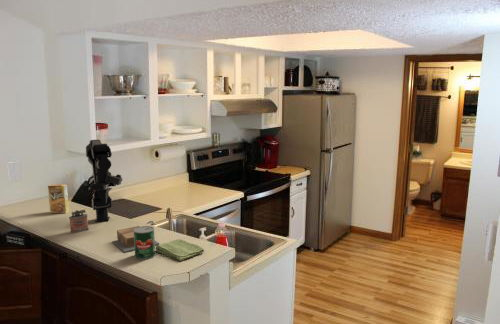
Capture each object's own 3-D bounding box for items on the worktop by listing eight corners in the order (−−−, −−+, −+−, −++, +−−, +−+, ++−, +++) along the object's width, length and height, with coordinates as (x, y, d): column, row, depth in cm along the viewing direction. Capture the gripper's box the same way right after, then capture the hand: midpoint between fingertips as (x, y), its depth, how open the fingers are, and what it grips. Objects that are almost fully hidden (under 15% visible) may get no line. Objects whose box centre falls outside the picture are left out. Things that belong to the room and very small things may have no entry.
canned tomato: (139, 261, 165) (137, 233, 164) (132, 255, 172) (130, 228, 170) (158, 256, 170) (157, 229, 168) (150, 250, 176) (149, 224, 175)
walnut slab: (116, 230, 188) (126, 238, 178) (138, 225, 194) (150, 233, 183) (117, 239, 189) (127, 247, 178) (139, 234, 194) (150, 242, 184)
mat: (112, 242, 186) (112, 241, 186) (145, 235, 195) (145, 234, 195) (124, 252, 174) (124, 251, 174) (159, 244, 183) (159, 243, 183)
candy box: (50, 213, 232) (47, 185, 230) (54, 211, 236) (51, 183, 234) (65, 213, 232) (63, 185, 229) (69, 211, 236) (67, 183, 233)
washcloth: (180, 263, 164) (180, 255, 163) (153, 252, 176) (153, 244, 175) (206, 253, 173) (206, 246, 173) (179, 243, 185) (178, 236, 185)
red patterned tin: (71, 233, 198) (69, 212, 197) (69, 231, 201) (67, 211, 200) (89, 230, 203) (87, 209, 201) (87, 228, 206) (86, 208, 204)
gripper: (113, 170, 193) (115, 204, 193) (125, 168, 211) (127, 200, 212) (88, 172, 193) (91, 206, 193) (102, 170, 211) (105, 201, 212)
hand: (105, 203), depth 202 cm, fingers closed
